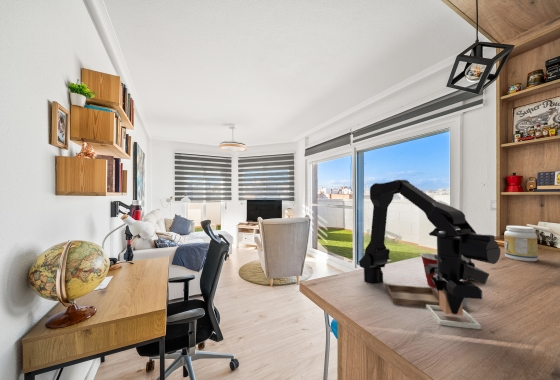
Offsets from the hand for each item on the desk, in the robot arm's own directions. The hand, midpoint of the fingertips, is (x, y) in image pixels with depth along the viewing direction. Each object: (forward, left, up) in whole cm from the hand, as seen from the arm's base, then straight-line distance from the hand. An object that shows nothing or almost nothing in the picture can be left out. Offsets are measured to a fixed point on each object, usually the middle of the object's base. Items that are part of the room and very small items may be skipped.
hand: (450, 309), depth 64 cm
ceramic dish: (0, 0, -3) cm, 3 cm away
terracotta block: (0, 0, 0) cm, 0 cm away
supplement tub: (+65, +75, -3) cm, 99 cm away
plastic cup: (+6, +24, -3) cm, 25 cm away
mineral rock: (+22, +38, -3) cm, 44 cm away
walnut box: (-6, +11, -3) cm, 13 cm away
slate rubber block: (+5, +9, -3) cm, 11 cm away
